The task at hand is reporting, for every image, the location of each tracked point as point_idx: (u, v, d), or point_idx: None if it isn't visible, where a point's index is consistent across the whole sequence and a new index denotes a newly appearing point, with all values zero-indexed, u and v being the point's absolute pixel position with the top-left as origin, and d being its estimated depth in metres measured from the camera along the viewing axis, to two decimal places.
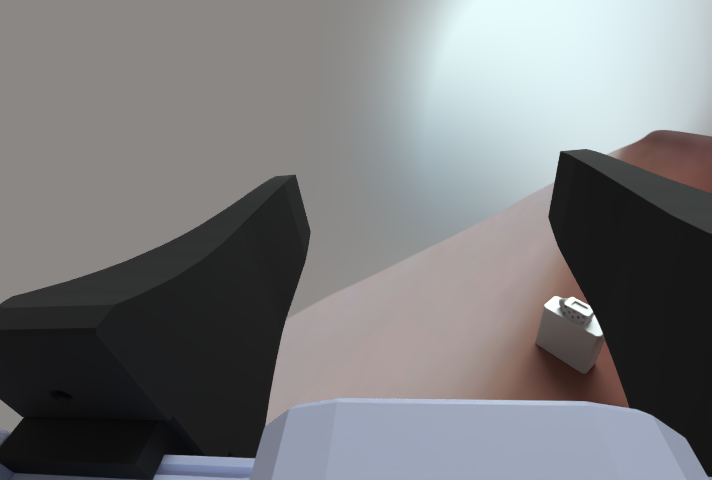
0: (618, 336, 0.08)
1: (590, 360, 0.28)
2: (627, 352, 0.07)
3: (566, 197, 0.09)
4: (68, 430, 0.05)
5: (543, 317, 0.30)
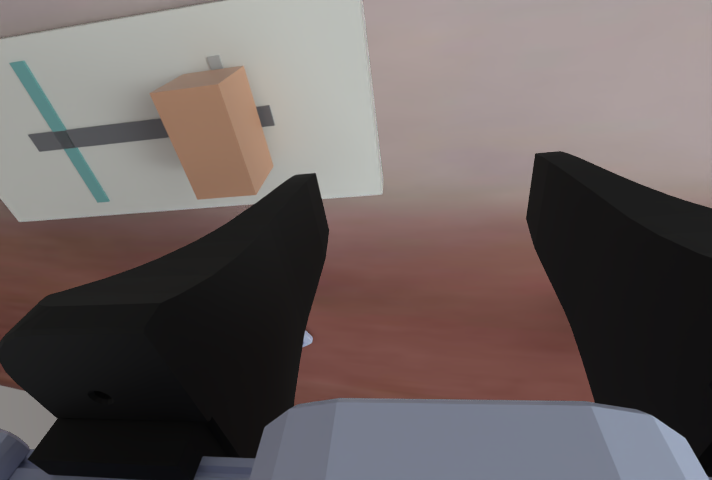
0: (586, 336, 0.08)
1: None
2: (594, 352, 0.07)
3: (540, 199, 0.10)
4: (104, 431, 0.05)
5: None
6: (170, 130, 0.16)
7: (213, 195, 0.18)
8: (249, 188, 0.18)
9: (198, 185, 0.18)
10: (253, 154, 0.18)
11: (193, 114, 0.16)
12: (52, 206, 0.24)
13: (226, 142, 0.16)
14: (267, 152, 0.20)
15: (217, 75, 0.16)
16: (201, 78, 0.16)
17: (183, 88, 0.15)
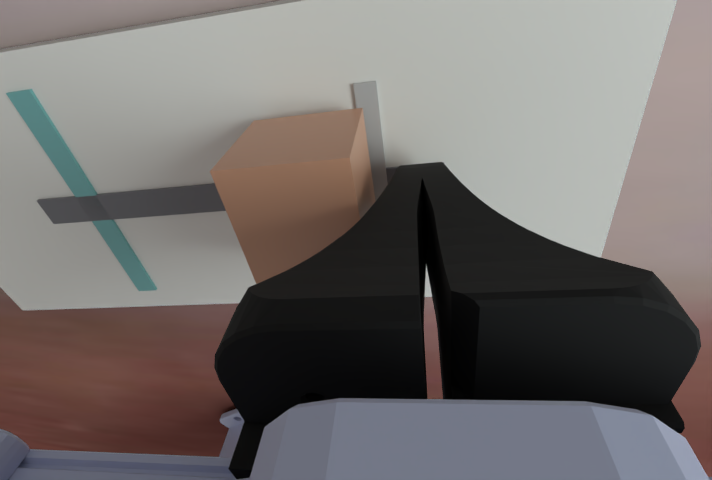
0: (439, 338, 0.08)
1: None
2: (441, 353, 0.08)
3: None
4: None
5: None
6: (243, 232, 0.09)
7: None
8: None
9: None
10: None
11: (290, 208, 0.08)
12: (71, 293, 0.16)
13: None
14: None
15: (328, 130, 0.09)
16: (298, 136, 0.09)
17: (277, 163, 0.08)
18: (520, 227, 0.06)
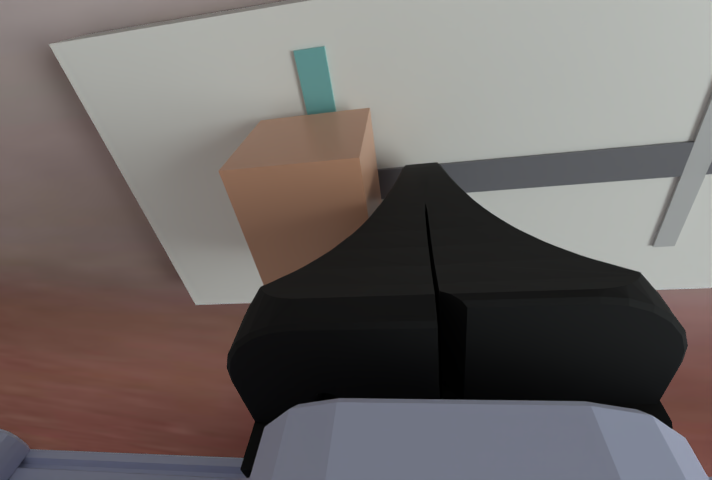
0: None
1: None
2: None
3: None
4: None
5: None
6: (251, 232, 0.09)
7: None
8: None
9: None
10: None
11: (298, 208, 0.08)
12: None
13: None
14: None
15: (336, 130, 0.09)
16: (306, 136, 0.09)
17: (286, 163, 0.08)
18: (512, 227, 0.06)
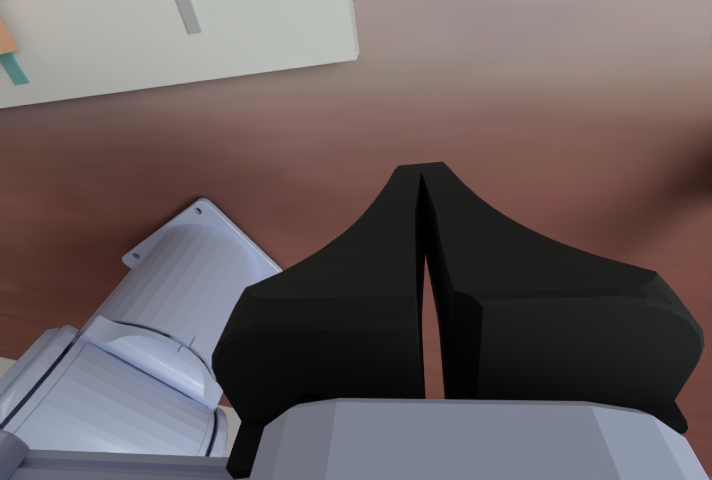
0: (441, 338, 0.08)
1: None
2: (442, 353, 0.08)
3: None
4: None
5: None
6: None
7: None
8: None
9: None
10: None
11: None
12: None
13: None
14: (2, 28, 0.17)
15: None
16: None
17: None
18: (522, 227, 0.06)
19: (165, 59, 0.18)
